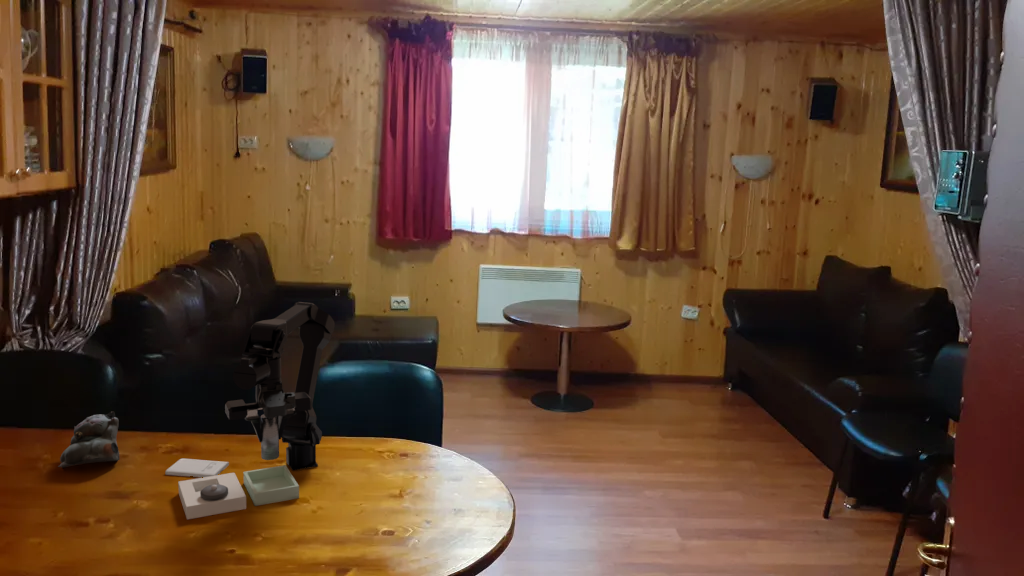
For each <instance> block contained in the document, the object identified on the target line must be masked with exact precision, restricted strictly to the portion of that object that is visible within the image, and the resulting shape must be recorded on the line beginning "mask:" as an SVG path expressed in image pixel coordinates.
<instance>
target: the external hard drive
mask: <svg viewBox="0 0 1024 576" xmlns="http://www.w3.org/2000/svg"><path fill="white" fill-rule="evenodd" d="M229 465H230V462H229V461H221V460H220V461H218V460H206V459H194V458H180V459H178V460H177V461H176V462H175V463H173V464H172V465H170V467H168V468H167V469H166V470H165V475H166V476H179V477H190V476H193V478H202V477H209V476H216V475H218V474H219V475H221V472H222V471H224V470H225V469H226V468H227V467H228V466H229Z"/></svg>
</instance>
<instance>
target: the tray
mask: <svg viewBox="0 0 1024 576" xmlns="http://www.w3.org/2000/svg"><path fill="white" fill-rule="evenodd" d="M242 473H243V485H244V486H245V487H244V488H245V489H246V491H247V493H248V494H249V497H250V499H251V501H252V503H253V506H254V507H257V506H263V505H268V504H272V503H273V504H274V503H279V502H285V501H289V500H296V499H299V498H300V485H299V484H298V482H297V481H296V479H295V477H294V476H293V475H292V473H291V472H290V470H289V468H288V467H287V465H286V464H284V465H283V464H282V465H278V466H272V467H265V468H260V469H259V468H258V469H253V470H246V471H243V472H242Z"/></svg>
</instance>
